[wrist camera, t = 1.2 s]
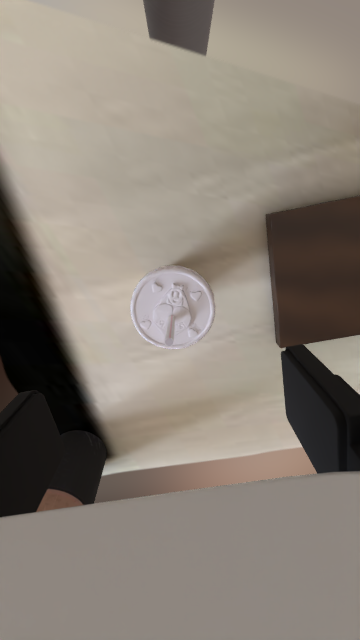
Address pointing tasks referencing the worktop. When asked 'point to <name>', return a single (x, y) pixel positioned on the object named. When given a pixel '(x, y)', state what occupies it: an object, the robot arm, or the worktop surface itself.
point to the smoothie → (172, 307)
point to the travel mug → (76, 472)
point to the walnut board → (315, 271)
